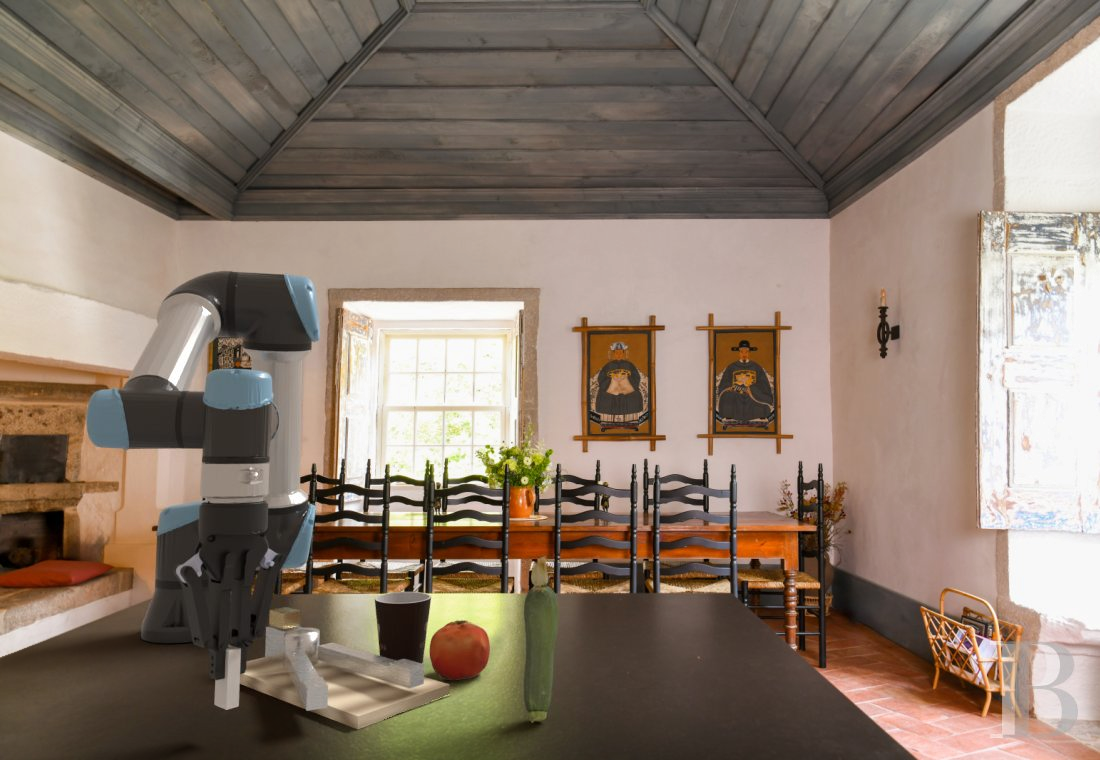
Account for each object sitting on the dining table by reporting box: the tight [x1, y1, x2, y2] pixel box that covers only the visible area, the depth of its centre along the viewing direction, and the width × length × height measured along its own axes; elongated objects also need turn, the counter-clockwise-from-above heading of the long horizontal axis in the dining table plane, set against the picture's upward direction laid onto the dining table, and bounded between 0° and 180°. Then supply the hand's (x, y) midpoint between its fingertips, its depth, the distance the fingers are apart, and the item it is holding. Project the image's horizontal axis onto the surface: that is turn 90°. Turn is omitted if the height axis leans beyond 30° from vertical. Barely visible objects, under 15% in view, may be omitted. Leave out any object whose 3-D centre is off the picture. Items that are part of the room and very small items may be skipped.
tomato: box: [429, 619, 491, 681], centre depth 108 cm, size 9×9×8 cm
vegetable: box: [523, 555, 560, 724], centre depth 92 cm, size 4×4×20 cm
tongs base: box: [264, 625, 425, 689], centre depth 104 cm, size 30×5×4 cm, turn 52°
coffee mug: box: [374, 591, 432, 664], centre depth 116 cm, size 12×9×10 cm
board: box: [240, 656, 451, 730], centre depth 103 cm, size 31×15×2 cm, turn 52°
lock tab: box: [268, 606, 302, 629], centre depth 112 cm, size 4×3×2 cm
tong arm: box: [284, 649, 328, 712], centre depth 96 cm, size 20×2×2 cm, turn 27°
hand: (226, 705), depth 86 cm, fingers closed
